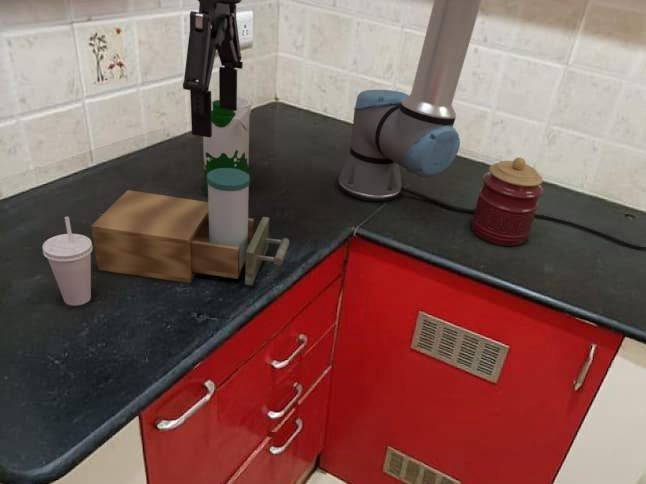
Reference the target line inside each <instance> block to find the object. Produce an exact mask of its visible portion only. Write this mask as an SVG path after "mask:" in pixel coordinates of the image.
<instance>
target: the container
mask: <svg viewBox="0 0 646 484" xmlns="http://www.w3.org/2000/svg"><path fill="white" fill-rule="evenodd" d="M207 183H208V195H207V202H208V209H209V243H215V244H221V245H228V246H235V247H239V264H240V263H242V262H244V261H245V260H246V250H247V248H248V218H249V197H250V196H249V195H250V194H249V193H250V191H249V190H250V188H249V187H250V185H251V177H250V175H249V173H248V174H247V173H246V172H244V171H242V170H238V169H233V168H219V169H214V170H212V171H210V172H208V174H207Z"/></svg>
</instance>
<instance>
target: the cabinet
mask: <svg viewBox="0 0 646 484" xmlns="http://www.w3.org/2000/svg"><path fill="white" fill-rule="evenodd" d="M208 215H209V209H208V201H203V200H196V199H189V198H184V197H183V198H182V197H177V196H169V195H164V194H156V193H150V192H144V191H137V190H130V189H127V190H126V192H124V194H122V195H121V196H120V197H119V198H118V199H117V200H116V201H115V202H114V203H113V204H112V205H111V206H110V207H109V208H108V209H107V210H106V211H105V212H104V213H103V214H101V216H100V217H99V218H98V219H96V221H94V223H92V225H91V226H90V228H91V234H92V240H93V246H94V247H93V248H94V252H95V253H94V254H95V258H96V260H95V261H96V265H97V270H98V271H104V272H112V273H118V274H124V275H131V276H138V277H145V278H152V279H159V280H166V281H173V282H179V283H187V284H191V283H192V281H193V280H194V278H195V276H196V275H197V273H195V272H191V250H190V242H191V240H192V239H193V237H194V236H195V234H196V233H197V231H198V230H199V228H200V227H201V225H202V224H203V222H204V221H205V219H206V218H207V216H208Z"/></svg>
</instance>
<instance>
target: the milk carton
mask: <svg viewBox="0 0 646 484" xmlns="http://www.w3.org/2000/svg"><path fill="white" fill-rule="evenodd" d="M211 111H212V136H211V137H210V138H209V137H203V136H202V146H203V148H202V149H203V174H204V176H203V177H204V187H205V188H204V189H205V196H208V183H207V174H208V172H210V171H212V170H214V169H219V168H233V169H238V170H242V171H244V172H246V173H247V174H248V175H249V164H250V163H249V161H250V159H249V158H250V157H249V156H250V115H251V113H250V109H249V108H243V107H237V110H236V111H233V110H227V109H221V108H219V100H216V101H213V105H211Z"/></svg>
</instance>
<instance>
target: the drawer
mask: <svg viewBox="0 0 646 484" xmlns="http://www.w3.org/2000/svg"><path fill="white" fill-rule="evenodd" d="M254 225H255V219H254V218H250V217H248V248H247V250H246V260H245V261H244V262H242V263H240V264H239V247H235V246H228V245H221V244H215V243H209V215H208V216H207V218H206V219H205V221H204V222H203V224H202V225H201V227H200V228H199V230H198V231H197V233H196V234H195V236H194V237H193V239H192V240H191V242H190V250H191V272H195V273H196V274H202V275H203V274H204V275H209V276H216V277H223V278H229V279H237V280H238V279H239V278H240V275H241V273H242V272H243V269H244V268H245V271H244V272H245V273H244V284H245V286H246V285H247V286H253V284H254V282H255V280H256V277H257V275H258V273H259V270H260V268H261V265H262V264H263V261H264V262H265V261H266V262H272V263H273V264H274V265H275V266H278V267H279V266H282V265H283V263H284V260H285V257H286V255H287V251H288V249H289V246H290V242H291V241H290V239H289V238H288V237H283V238H282V239H277V238H269V233H270V217H267V216H262V218H261V219H260V221H259V224H258V226H257V228H256V230H255V232H254V229H255V228H254ZM269 244H275V245H278V248H277V250H276V253H275V255H274V256H269V255H268V256H266V253H267V251H268V249H269Z"/></svg>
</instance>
